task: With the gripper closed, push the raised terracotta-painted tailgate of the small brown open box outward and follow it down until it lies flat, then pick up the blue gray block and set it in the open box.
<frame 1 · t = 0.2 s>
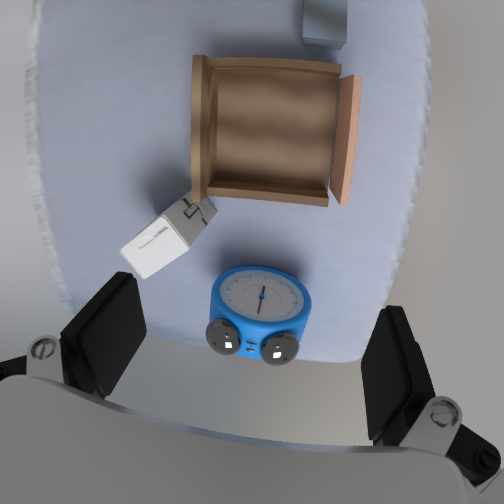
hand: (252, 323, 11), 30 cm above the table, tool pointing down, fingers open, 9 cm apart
brown open box: (284, 126, 35), on the table
blue gray block: (322, 23, 27), on the table
alarm clock: (265, 281, 46), on the table
ink box: (187, 213, 43), on the table
tailgate: (344, 137, 29), point 5 cm above the table, hinge at 5.0°
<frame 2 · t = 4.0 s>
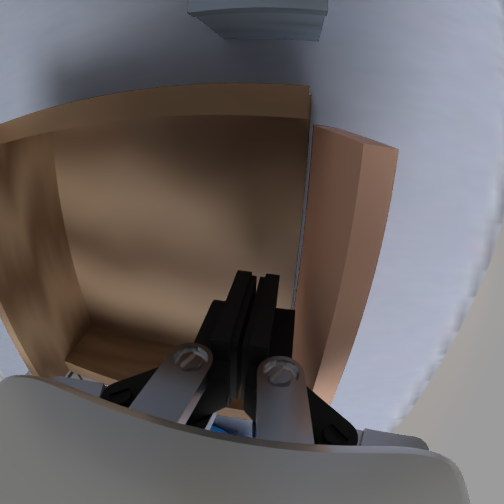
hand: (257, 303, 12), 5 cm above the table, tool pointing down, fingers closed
brown open box: (192, 237, 17), on the table
tailgate: (315, 307, 12), point 5 cm above the table, hinge at 6.7°, touching gripper
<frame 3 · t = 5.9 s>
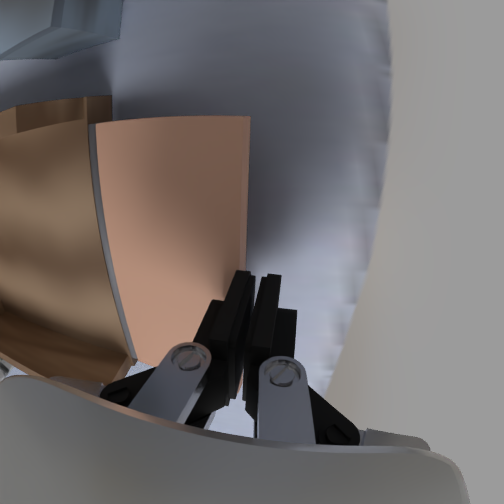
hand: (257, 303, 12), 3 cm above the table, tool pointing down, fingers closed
brown open box: (52, 234, 16), on the table
ink box: (14, 332, 24), on the table
tailgate: (165, 273, 13), point 2 cm above the table, hinge at 82.6°, touching gripper
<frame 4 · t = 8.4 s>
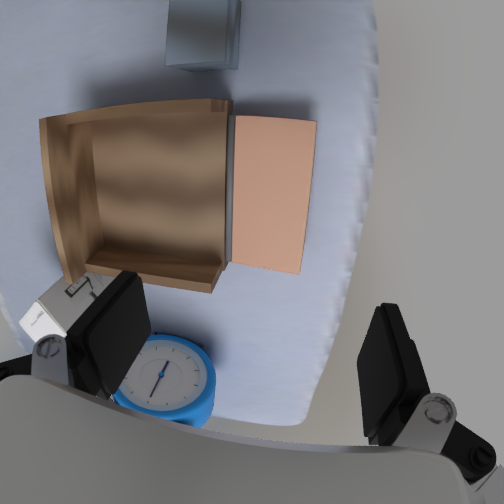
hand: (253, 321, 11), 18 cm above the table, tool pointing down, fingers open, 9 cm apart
brown open box: (171, 182, 28), on the table
blue gray block: (214, 35, 21), on the table
alarm clock: (180, 348, 39), on the table
ink box: (92, 275, 36), on the table
tailgate: (266, 196, 25), point 2 cm above the table, hinge at 82.9°
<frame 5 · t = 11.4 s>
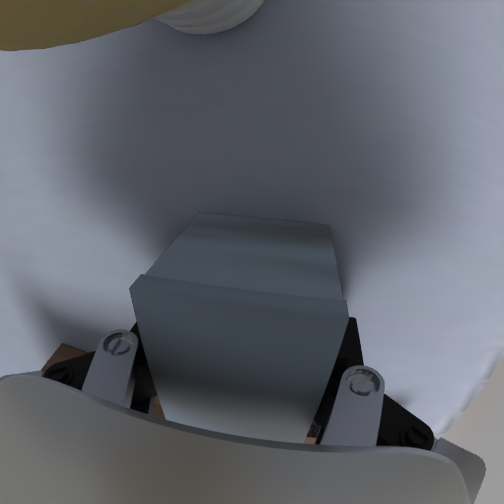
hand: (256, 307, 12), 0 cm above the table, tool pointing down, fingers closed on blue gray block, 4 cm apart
brown open box: (194, 439, 19), on the table
blue gray block: (258, 300, 12), on the table, touching gripper
tailgate: (320, 483, 16), point 2 cm above the table, hinge at 82.9°
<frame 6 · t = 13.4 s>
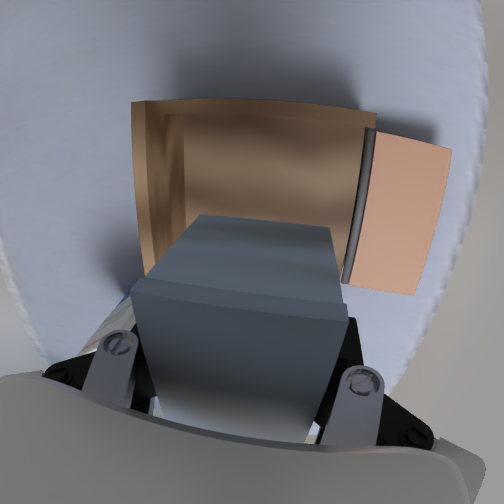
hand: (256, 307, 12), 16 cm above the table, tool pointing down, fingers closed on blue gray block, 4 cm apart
brown open box: (281, 195, 25), on the table
blue gray block: (258, 301, 12), point 15 cm above the table, touching gripper
ink box: (158, 295, 33), on the table
tailgate: (396, 219, 22), point 2 cm above the table, hinge at 82.9°
when the fingers open (4 cm above the table, at t = 15.9 s): blue gray block drops 1 cm, resting on brown open box.
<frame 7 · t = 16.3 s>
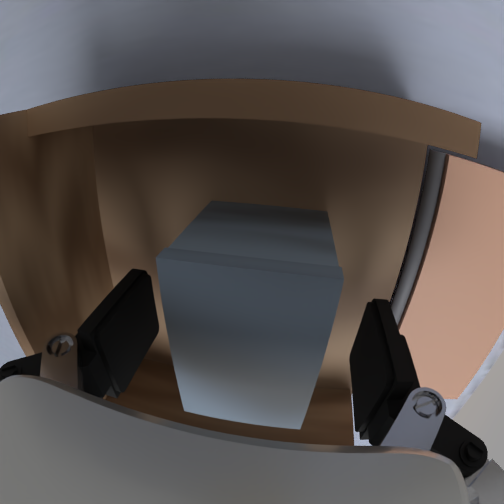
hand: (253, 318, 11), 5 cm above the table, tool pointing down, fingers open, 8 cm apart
brown open box: (267, 260, 15), on the table
blue gray block: (263, 281, 13), point 2 cm above the table, touching brown open box
tailgate: (457, 305, 12), point 2 cm above the table, hinge at 82.9°
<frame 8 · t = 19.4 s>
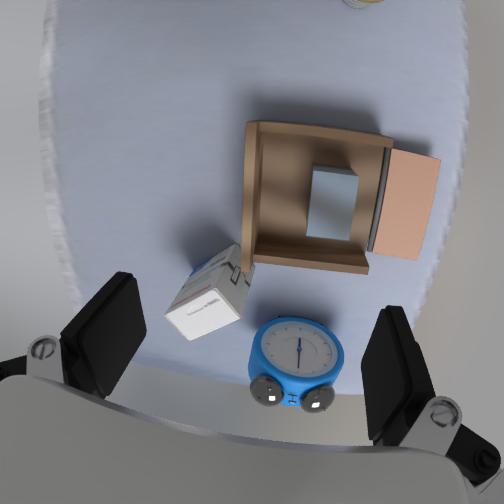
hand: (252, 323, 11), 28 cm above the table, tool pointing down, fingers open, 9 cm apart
brown open box: (326, 189, 36), on the table
blue gray block: (328, 193, 34), point 2 cm above the table, touching brown open box
alarm clock: (297, 329, 47), on the table
ink box: (224, 267, 44), on the table
tailgate: (403, 206, 33), point 2 cm above the table, hinge at 82.9°
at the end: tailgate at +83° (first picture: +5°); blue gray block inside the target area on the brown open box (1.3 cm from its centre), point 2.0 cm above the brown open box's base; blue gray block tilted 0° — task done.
